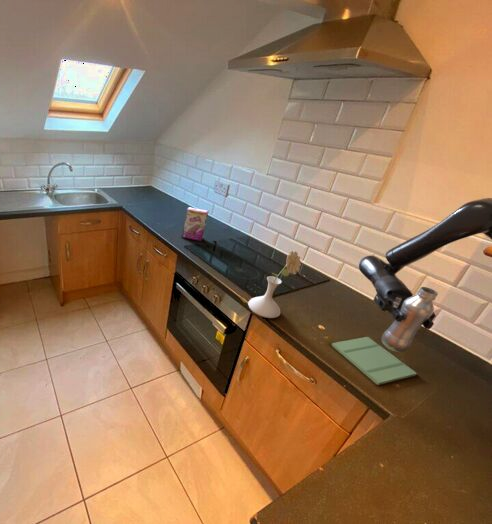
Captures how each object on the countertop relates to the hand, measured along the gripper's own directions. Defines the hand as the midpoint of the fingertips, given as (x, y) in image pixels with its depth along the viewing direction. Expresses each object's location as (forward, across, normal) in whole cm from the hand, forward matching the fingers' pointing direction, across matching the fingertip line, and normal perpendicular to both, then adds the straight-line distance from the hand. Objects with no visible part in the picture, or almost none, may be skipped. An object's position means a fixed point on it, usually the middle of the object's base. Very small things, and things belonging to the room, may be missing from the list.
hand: (415, 322), depth 81 cm
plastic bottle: (-2, 0, +11) cm, 11 cm away
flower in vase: (-15, -34, +19) cm, 41 cm away
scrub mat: (-4, -2, +19) cm, 19 cm away
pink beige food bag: (-69, -72, +20) cm, 101 cm away
